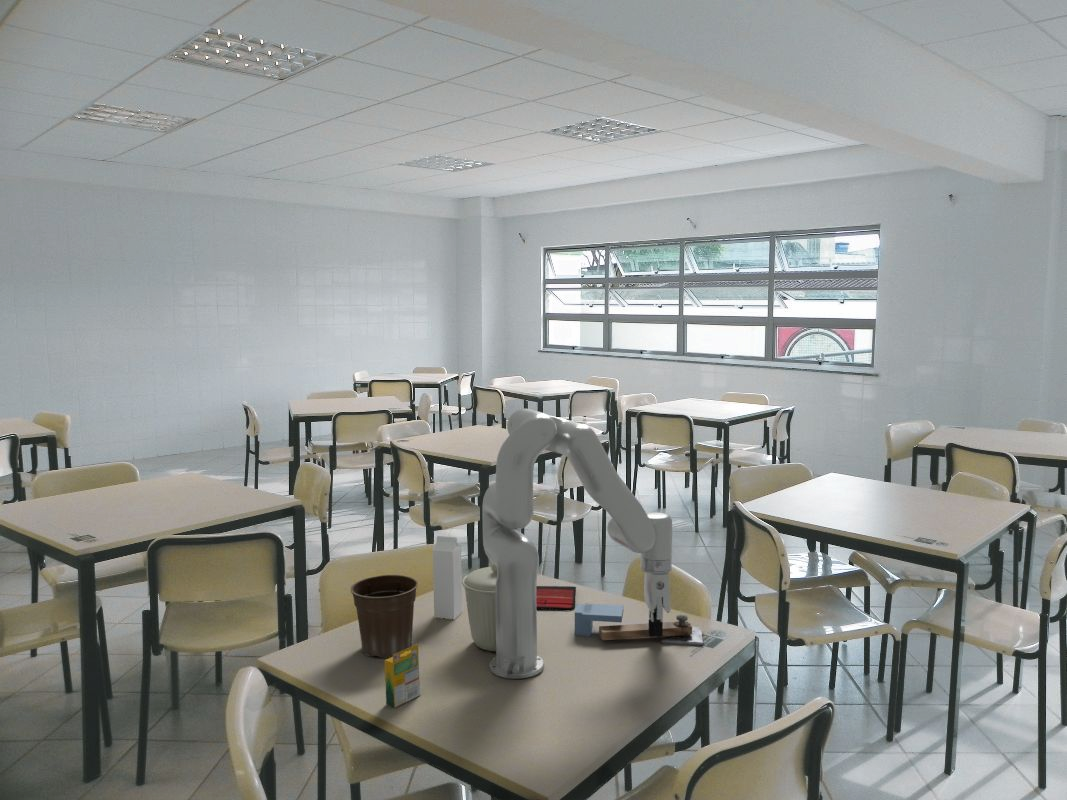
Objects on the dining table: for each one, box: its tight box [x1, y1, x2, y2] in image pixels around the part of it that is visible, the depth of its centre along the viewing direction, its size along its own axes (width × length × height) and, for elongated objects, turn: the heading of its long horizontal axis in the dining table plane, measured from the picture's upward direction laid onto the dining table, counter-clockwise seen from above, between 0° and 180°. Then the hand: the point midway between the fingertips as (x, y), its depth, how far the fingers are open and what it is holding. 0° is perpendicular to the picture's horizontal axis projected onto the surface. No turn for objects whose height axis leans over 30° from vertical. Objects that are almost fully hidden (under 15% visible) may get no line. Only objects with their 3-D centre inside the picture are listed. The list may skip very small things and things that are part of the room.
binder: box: [536, 585, 577, 611], centre depth 229 cm, size 16×2×21 cm
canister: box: [462, 562, 497, 652], centre depth 197 cm, size 18×18×21 cm
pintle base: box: [661, 626, 704, 646], centre depth 201 cm, size 10×10×1 cm
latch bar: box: [598, 614, 693, 641], centre depth 200 cm, size 23×4×4 cm, turn 97°
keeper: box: [574, 602, 624, 637], centre depth 205 cm, size 8×12×6 cm, turn 80°
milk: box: [432, 535, 463, 621], centre depth 217 cm, size 6×6×22 cm
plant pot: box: [350, 574, 419, 659], centre depth 195 cm, size 16×16×16 cm
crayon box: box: [384, 643, 421, 709], centre depth 169 cm, size 7×3×12 cm, turn 141°
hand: (655, 635), depth 197 cm, fingers closed
